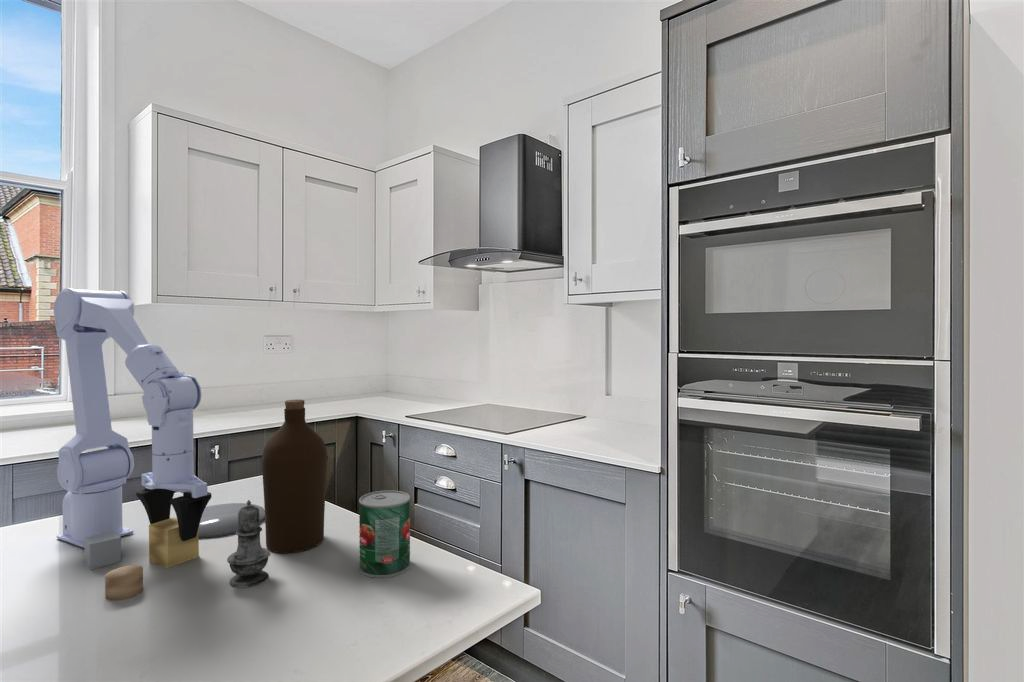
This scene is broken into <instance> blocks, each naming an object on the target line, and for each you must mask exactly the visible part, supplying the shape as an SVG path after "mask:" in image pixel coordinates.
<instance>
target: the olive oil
mask: <svg viewBox="0 0 1024 682" xmlns="http://www.w3.org/2000/svg"><path fill="white" fill-rule="evenodd" d="M284 405H285V408H284V422H283V424H282V425H281V426H280V427H279V428H278V430H276V432H274V434H273V435H272V436H271V437H270V438H269V439H268V440H267V442H266V443H265V445H264V448H263V451H262V453H261V471H262V474H261V475H262V483H263V484H262V486H263V489H262V490H263V502H264V503H263V505H264V510H265V518H264V521H265V522H264V524H265V527H264V528H265V545H266V549H268V550H269V551H270V552H273V553H277V554H291V553H292V554H293V553H299V552H303V551H308V550H310V549H314V548H315V547H317V546H319V545H320V544H322V542H323V541H324V537H325V536H324V534H325V510H326V509H325V506H326V490H327V489H326V487H327V486H326V484H327V468H328V457H329V456H328V451H327V447H326V443H325V441H324V439H323V438H322V436H320V434H318V433H317V432H316V431H315V430H314V429H313V428H312V427H311V426H310V425H309V424H308V423H307V421H306V407H305V400H304V399H287V400H285V401H284Z"/></svg>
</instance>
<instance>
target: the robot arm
mask: <svg viewBox="0 0 1024 682" xmlns="http://www.w3.org/2000/svg"><path fill="white" fill-rule="evenodd" d="M52 306H53V307H52V308H53V309H52V310H53V316H54V324H55V330H56V336H57V338H59V339H61V340H63V341H65V342H64V343H65V351H66V356H67V365H68V366H67V368H68V375H69V382H70V383H69V384H70V392H71V400H72V408H73V416H74V426H75V427H74V428H75V435H74V436H73V437H72V438H71V439H70V440H68V441H67V442H66V443H65V444H64V445H63V446H61V447H60V448H59V450H58V465H57V467H56V468H57V469H56V476H57V481H58V483H59V485H60V486H61V488H63V489H64V490H65V491H67V493H66V494H65V495H64V496H63V499H62V505H61V506H62V533H59V534H57V535H56V539H58V540H61V541H64V542H67V543H70V544H72V545H74V546H77V547H80V548H84V538H85V537H89V536H94V535H98V534H103V533H107V532H111V531H115V532H116V533H117V534H118V535H119V536H120V537H124V536H128V535H130V534H134V529H131V528H128V527H125V526H123V485H124V484H127V479H128V478H129V477H130V476H131V475H132V473H133V471H134V469H135V468H134V467H135V458H134V455H133V453H132V452H131V449H130V446H129V441H128V438H127V437H125V436H123V435H121V434H120V433H118V432H116V431H114V430H113V428H112V420H111V412H110V404H109V395H108V387H107V379H106V371H105V370H106V369H105V363H104V362H105V361H104V353H103V344H104V343H105V341H106V340H107V339H110V338H112V339H113V341H115V343H116V344H117V345H118V346H119V347H120V348H121V349H122V351H124V352H125V354H126V358H125V361H124V364H125V367H126V369H128V371H129V373H130V374H131V375H132V377H133V378H134V380H135V381H136V383H137V384H138V385H139V387H140V388H141V389H142V390H143V395H142V396H141V400H142V406H143V408H144V409H145V412H146V416H147V417H146V420H147V422H148V423H147V424H148V425H149V426H151V453H152V454H151V459H152V460H151V465H152V466H151V470H152V471H150V472H146V473H141V486H143V487H144V489H140V490H138V491H136V494H135V495H136V497H137V499H138V500H139V501H140V503H142V505H143V507H144V510H145V512H146V515H147V518H148V521H149V525H150V524H153V523H157V522H160V521H163V520H167V519H170V518H171V508H173V510H174V512H175V515H176V516H177V520H178V527H179V535H180V538H181V541H186V540H189V539H192V538H195V537H196V535H197V532H198V528H199V524H200V520H201V517H202V514H203V512H204V509H205V507H207V505H208V504H209V502H210V501H211V499H212V492H209V491H208V482H205V481H204V480H201V479H200V478H199V477H197V476H196V475H195V472H194V471H195V470H194V468H195V467H194V466H195V463H194V460H195V459H194V457H195V456H194V447H195V446H194V410H195V409H197V408H198V407H199V405H200V404H201V403H200V402H201V400H202V389H201V386H200V383H199V382H198V380H197V378H196V377H195V376H193V375H192V374H191V375H190V374H186V373H185V372H181V371H179V369H178V368H177V367H176V365H175V364H174V363H173V362H172V360H171V359H170V357H169V356H168V355H167V354H166V352H165V351H164V349H163V348H162V347H161V346H159V345H157V344H152V343H151V344H150V343H149V341H148V339H147V337H146V336H145V334H144V332H143V331H142V330H141V328H140V326H139V324H138V323H137V320H135V318H134V315H135V303H134V302H133V301H132V298H131V297H130V295H129V294H128V293H127V292H126V291H123V290H116V291H115V290H114V291H110V290H95V289H77V288H76V289H74V288H72V287H65V288H63V289H62V290H61V291H60V292H59V293H58V294H57V295H56V298H55V301H54V302H53V305H52ZM102 447H106V448H103V449H98V448H102ZM91 449H97V450H92V451H87V450H91ZM84 451H87V452H84ZM175 492H177V493H181V494H182V495H181V496H177V497H174V495H175ZM176 516H175V517H176Z"/></svg>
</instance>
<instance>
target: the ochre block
mask: <svg viewBox="0 0 1024 682" xmlns="http://www.w3.org/2000/svg"><path fill="white" fill-rule="evenodd" d="M199 539H200V538H199V528H198V532H197V535H196V537H195V538H192V539H189V540H186V541H181V538H180V535H179V527H178V520H177V516H173V517H170V519H167V520H163V521H160V522H157V523H153V524H150V523H149V524H148V546H149V547H148V561H149V562H150V563H153V564H155V565H158V566H161V567H164V568H166V569H169V568H172V567H174V566H177V565H179V564H182V563H185V562H187V561H188V562H189V561H190V560H192V559H195V558H198V557H200V555H199V554H200V553H199V551H200V549H199V547H200V545H199V544H200V543H199V541H200V540H199Z"/></svg>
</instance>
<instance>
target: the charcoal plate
mask: <svg viewBox="0 0 1024 682" xmlns="http://www.w3.org/2000/svg"><path fill="white" fill-rule="evenodd" d="M246 505H247V502H246V503H245V502H244V503H243V502H235V503H221V504H214V505H209V506H206V507H205V509H204V512H203V514H202V517H201V520H200V524H199V539H202V538H205V539H206V538H213V537H215V538H216V537H221V536H228V535H231V534H236V531H237V530H238V513H239V510H240V509H241V508H243V507H245V506H246ZM250 505H252V506H256V507H257V508H258V509H259V524H260V523H261V522H263V521H264V520H265V507H262V506H261V505H258V504H254V503H253V504H252V503H250Z"/></svg>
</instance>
